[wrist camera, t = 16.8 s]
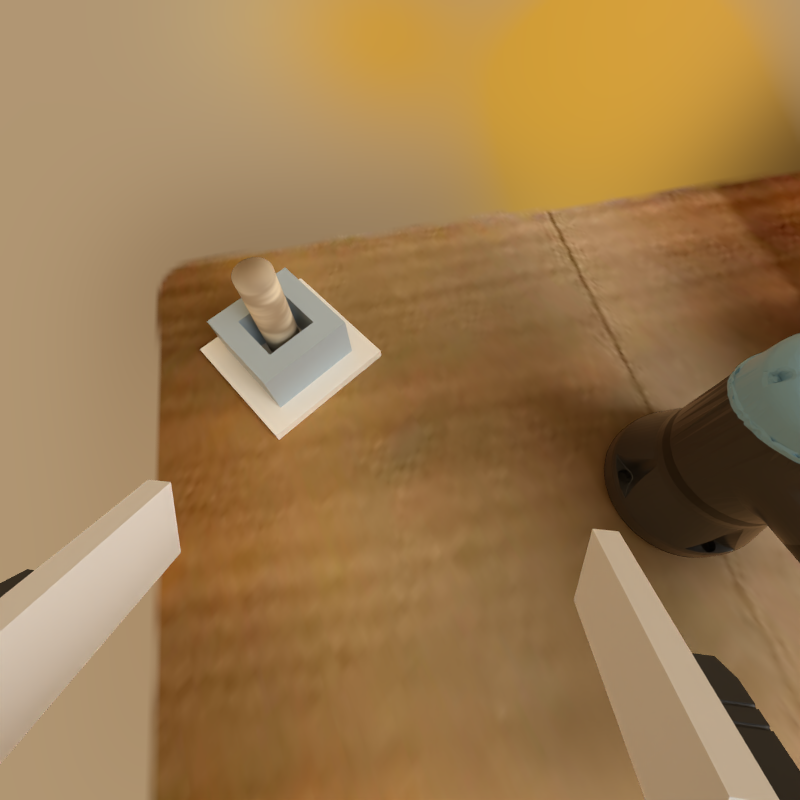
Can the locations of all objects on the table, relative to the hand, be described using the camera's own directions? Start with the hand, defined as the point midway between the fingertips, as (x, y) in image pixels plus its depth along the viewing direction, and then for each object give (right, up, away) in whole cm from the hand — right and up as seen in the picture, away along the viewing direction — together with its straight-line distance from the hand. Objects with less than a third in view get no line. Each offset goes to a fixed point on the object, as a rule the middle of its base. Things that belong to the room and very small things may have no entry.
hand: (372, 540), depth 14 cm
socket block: (-13, +10, +41) cm, 44 cm away
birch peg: (-13, +11, +40) cm, 43 cm away
